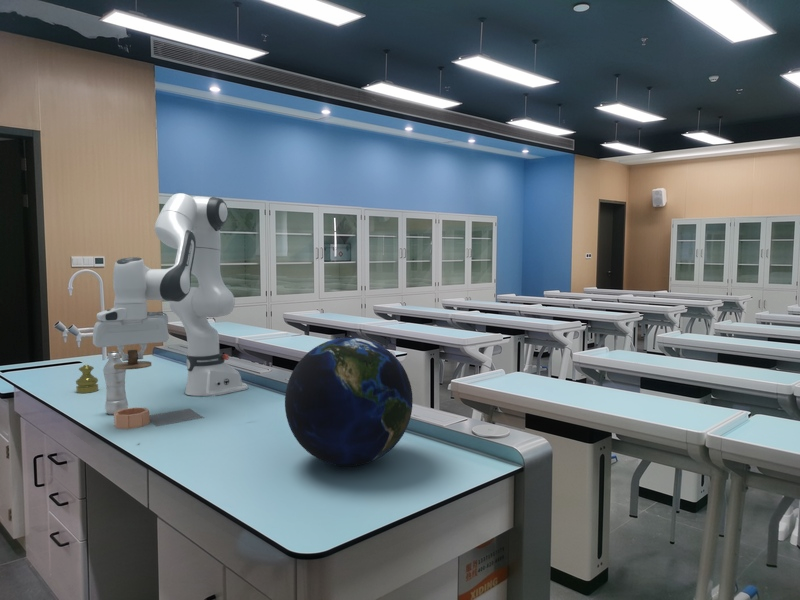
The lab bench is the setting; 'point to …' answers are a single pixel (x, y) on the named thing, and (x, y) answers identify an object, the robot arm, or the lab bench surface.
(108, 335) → the robot arm
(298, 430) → the globe
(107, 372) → the plastic bottle
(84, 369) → the gold chess piece
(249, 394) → the lab bench surface
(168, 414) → the mat
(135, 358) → the lid
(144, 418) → the bowl
